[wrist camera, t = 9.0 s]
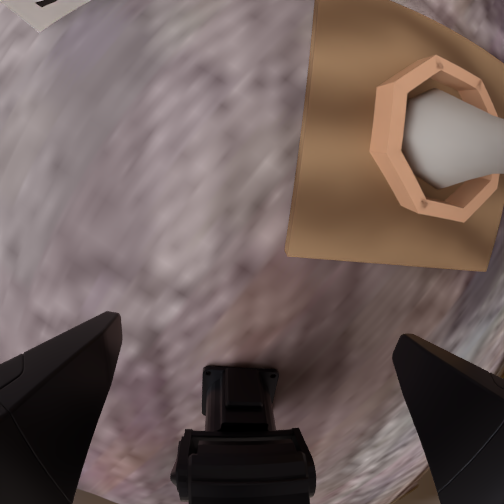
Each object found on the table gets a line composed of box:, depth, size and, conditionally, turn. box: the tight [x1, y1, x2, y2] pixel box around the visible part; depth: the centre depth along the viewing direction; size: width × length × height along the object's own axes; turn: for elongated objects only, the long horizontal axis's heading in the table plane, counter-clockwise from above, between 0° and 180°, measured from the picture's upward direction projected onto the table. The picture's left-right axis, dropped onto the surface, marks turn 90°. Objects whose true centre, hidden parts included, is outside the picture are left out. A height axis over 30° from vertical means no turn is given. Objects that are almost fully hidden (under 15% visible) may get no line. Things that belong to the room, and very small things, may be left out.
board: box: [285, 0, 504, 272], centre depth 19 cm, size 20×20×1 cm
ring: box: [369, 55, 499, 223], centre depth 17 cm, size 11×11×2 cm
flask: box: [401, 88, 504, 190], centre depth 13 cm, size 7×7×10 cm
